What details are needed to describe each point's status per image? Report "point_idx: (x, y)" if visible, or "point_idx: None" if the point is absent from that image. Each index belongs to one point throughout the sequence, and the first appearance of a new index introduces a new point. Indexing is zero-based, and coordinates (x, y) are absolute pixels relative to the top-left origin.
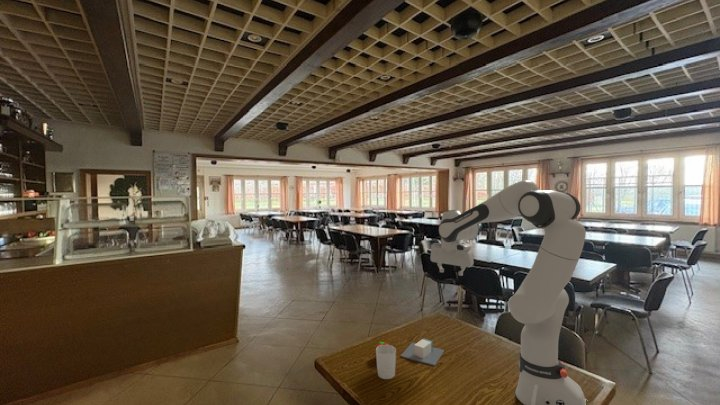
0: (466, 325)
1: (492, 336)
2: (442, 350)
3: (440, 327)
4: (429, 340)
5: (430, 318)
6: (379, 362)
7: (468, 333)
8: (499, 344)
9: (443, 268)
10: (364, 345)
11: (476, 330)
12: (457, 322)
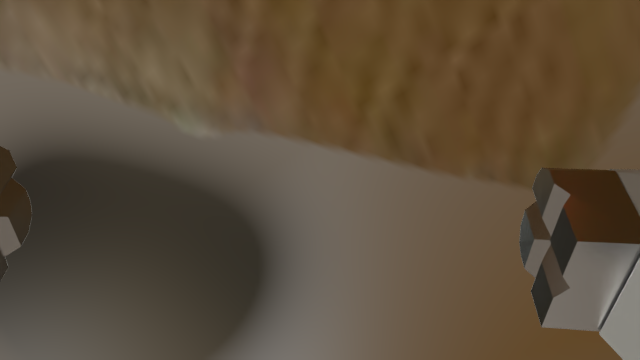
0: (358, 148)
1: (174, 99)
2: None
3: (497, 27)
4: None
5: (604, 116)
6: None
7: (301, 54)
8: (91, 25)
9: (556, 313)
10: None
11: (281, 120)
12: (420, 156)
